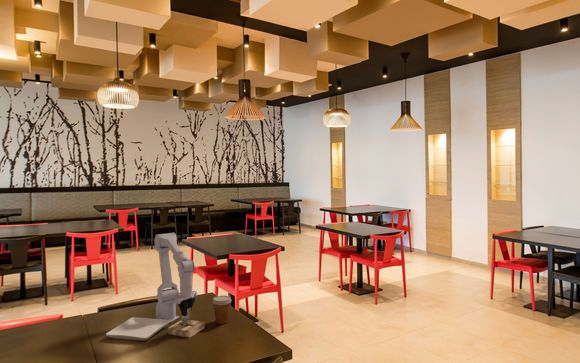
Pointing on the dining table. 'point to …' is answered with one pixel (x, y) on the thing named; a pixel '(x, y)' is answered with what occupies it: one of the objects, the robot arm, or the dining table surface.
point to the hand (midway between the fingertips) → (186, 314)
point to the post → (187, 316)
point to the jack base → (186, 328)
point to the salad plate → (138, 328)
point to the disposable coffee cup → (221, 308)
